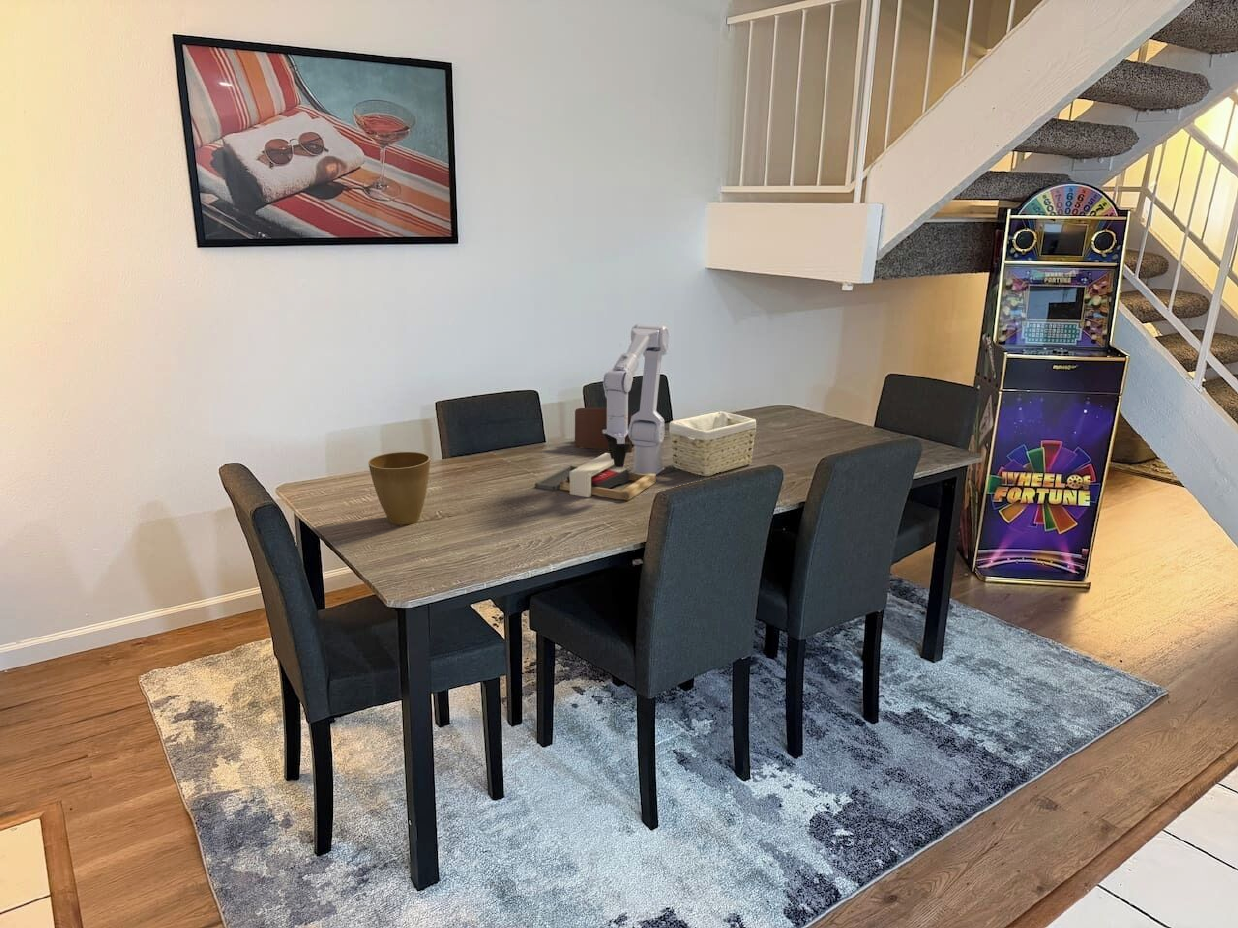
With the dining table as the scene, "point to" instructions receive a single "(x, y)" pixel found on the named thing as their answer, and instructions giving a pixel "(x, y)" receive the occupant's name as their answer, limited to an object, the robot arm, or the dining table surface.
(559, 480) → the tunnel
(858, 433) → the dining table surface
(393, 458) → the plant pot
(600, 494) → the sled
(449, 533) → the dining table surface
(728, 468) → the storage basket
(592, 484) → the calculator
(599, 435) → the letter holder
